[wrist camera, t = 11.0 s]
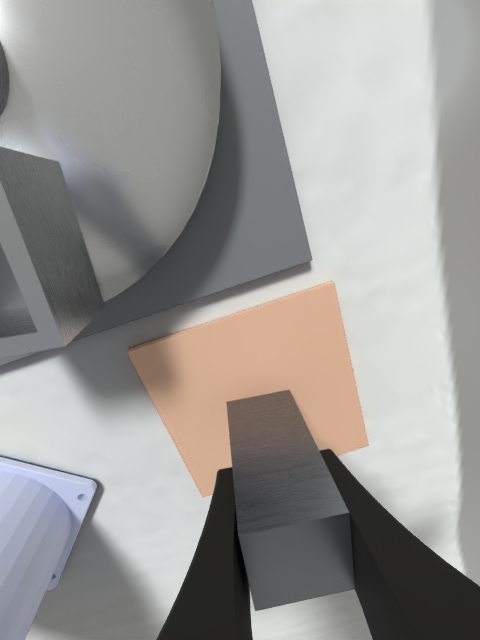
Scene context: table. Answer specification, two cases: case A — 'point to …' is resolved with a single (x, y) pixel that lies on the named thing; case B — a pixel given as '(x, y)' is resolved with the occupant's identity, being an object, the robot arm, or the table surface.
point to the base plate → (227, 193)
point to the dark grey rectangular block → (286, 505)
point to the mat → (254, 376)
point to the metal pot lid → (97, 152)
